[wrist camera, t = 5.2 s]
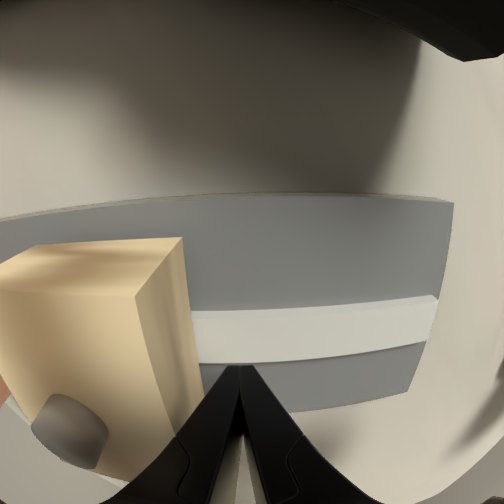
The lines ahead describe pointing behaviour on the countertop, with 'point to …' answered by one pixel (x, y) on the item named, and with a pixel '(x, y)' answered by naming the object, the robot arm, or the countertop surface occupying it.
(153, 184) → the countertop surface
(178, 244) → the block
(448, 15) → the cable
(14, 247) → the track
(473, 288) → the countertop surface
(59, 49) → the countertop surface
